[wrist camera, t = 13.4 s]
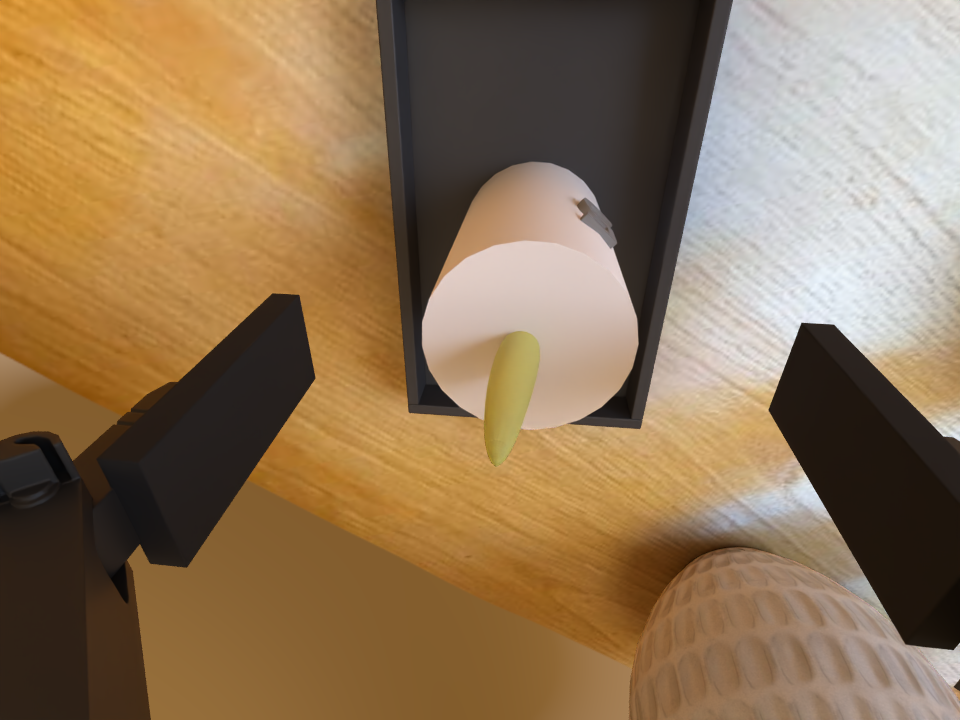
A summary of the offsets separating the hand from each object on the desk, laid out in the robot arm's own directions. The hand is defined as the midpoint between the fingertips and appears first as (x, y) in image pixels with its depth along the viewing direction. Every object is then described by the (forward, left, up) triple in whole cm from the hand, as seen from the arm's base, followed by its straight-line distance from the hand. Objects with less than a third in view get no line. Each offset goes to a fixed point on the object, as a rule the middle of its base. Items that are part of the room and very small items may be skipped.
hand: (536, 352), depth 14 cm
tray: (0, 0, -12) cm, 12 cm away
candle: (0, 0, -12) cm, 12 cm away
